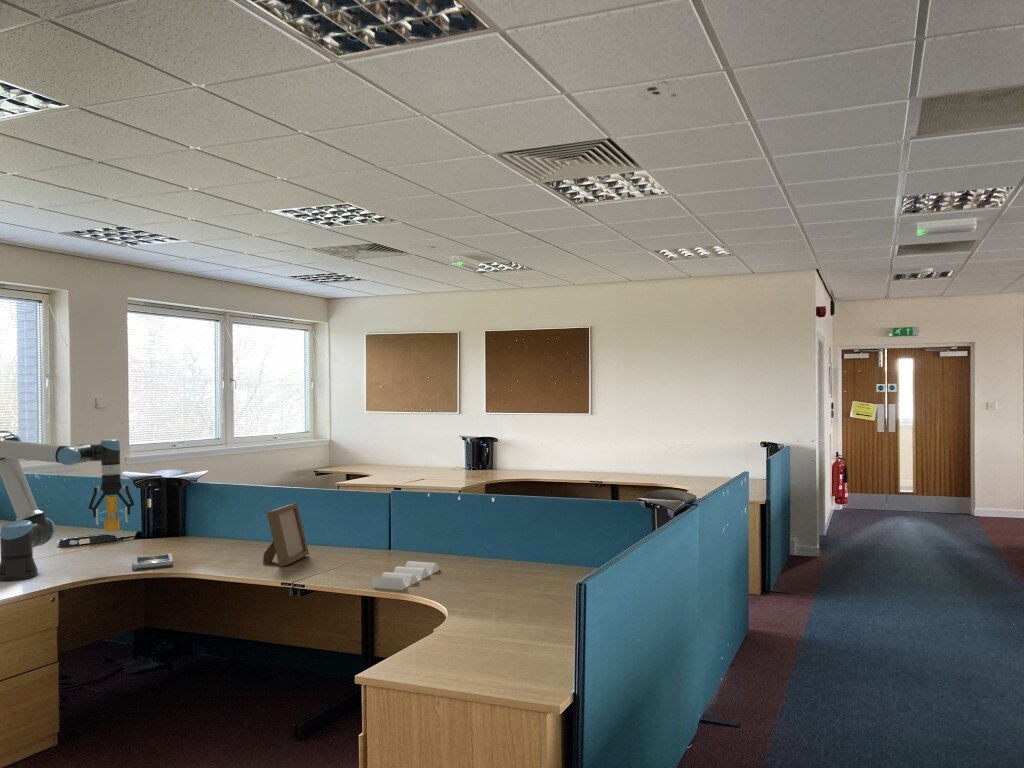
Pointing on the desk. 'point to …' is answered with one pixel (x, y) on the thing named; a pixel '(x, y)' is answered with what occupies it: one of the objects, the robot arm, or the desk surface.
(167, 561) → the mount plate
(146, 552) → the desk surface
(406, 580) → the white zigzag rack
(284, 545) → the photo frame
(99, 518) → the orange block with rings
